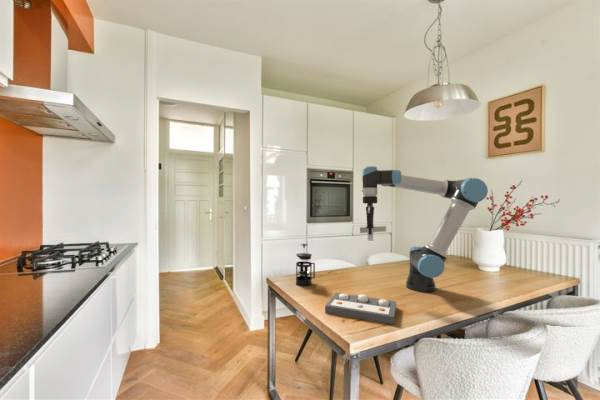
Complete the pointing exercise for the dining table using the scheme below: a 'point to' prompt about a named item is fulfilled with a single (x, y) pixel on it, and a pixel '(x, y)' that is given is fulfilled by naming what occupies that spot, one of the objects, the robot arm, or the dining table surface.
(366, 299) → the button middle
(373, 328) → the dining table surface
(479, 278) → the dining table surface
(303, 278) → the french press
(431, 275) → the robot arm
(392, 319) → the button board
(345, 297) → the button
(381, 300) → the button
